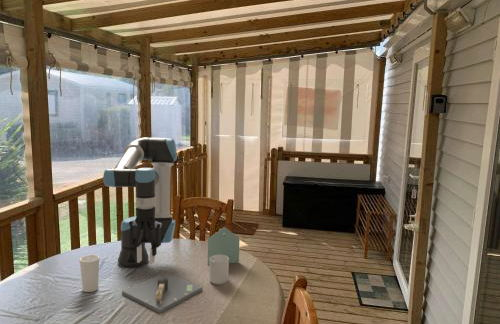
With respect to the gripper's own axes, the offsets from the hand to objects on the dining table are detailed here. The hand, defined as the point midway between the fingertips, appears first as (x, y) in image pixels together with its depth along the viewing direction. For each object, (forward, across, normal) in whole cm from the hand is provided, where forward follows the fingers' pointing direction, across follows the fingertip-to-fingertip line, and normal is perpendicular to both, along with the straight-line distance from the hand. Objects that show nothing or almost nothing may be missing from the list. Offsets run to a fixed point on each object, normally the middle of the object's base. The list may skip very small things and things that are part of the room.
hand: (145, 262), depth 152 cm
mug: (+17, +24, +26) cm, 40 cm away
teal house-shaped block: (+17, +20, +48) cm, 55 cm away
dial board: (+17, +4, +8) cm, 19 cm away
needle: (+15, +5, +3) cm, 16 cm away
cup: (+17, -27, +3) cm, 32 cm away
